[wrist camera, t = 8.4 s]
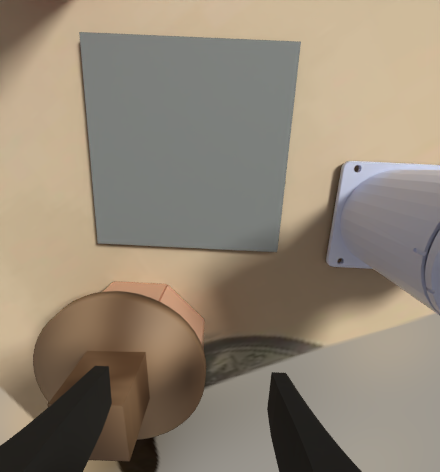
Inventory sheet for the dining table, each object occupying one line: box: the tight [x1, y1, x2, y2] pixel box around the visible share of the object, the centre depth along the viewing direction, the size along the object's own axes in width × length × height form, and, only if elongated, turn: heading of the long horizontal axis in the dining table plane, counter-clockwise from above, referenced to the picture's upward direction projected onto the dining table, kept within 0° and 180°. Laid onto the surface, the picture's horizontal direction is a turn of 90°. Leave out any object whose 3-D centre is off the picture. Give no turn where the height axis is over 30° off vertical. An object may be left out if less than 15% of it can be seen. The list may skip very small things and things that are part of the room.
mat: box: [79, 32, 301, 252], centre depth 18 cm, size 14×14×1 cm
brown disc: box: [33, 291, 206, 461], centre depth 16 cm, size 12×12×5 cm
